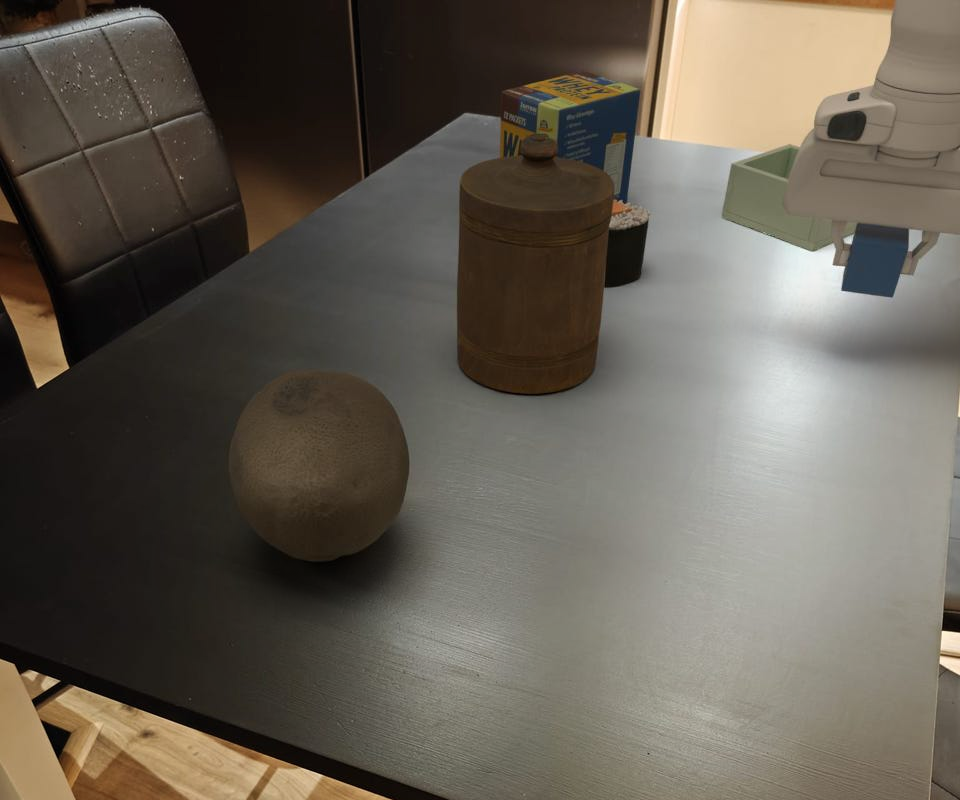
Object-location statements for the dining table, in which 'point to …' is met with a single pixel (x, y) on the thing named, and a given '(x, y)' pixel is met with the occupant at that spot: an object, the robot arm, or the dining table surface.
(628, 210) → the sushi
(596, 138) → the protein box
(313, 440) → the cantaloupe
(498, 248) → the wooden container
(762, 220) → the green storage bin
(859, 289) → the block
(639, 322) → the dining table surface
